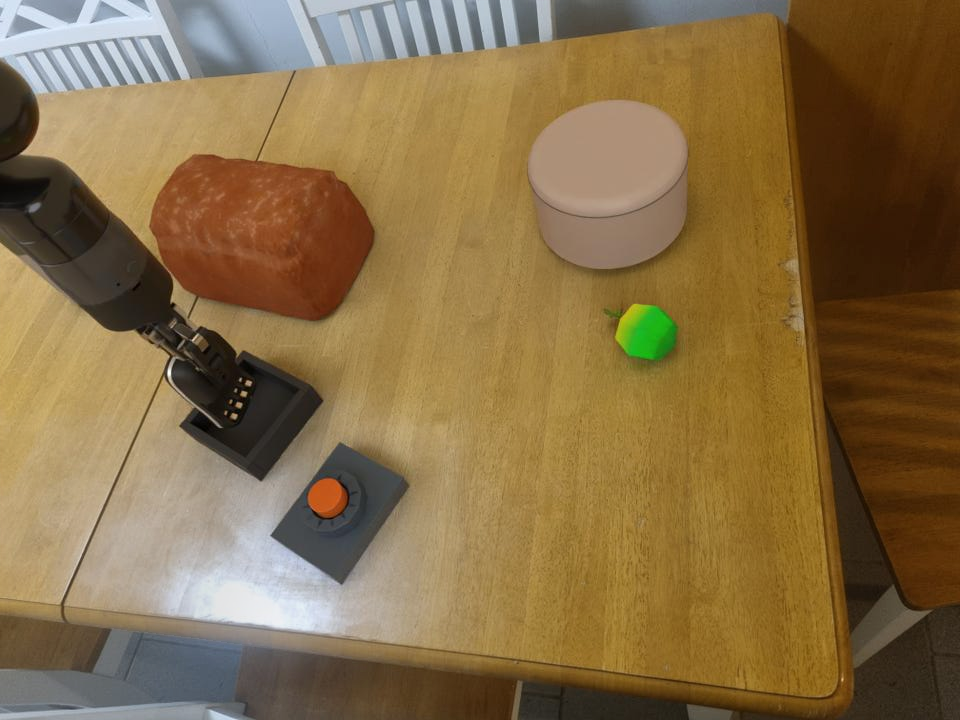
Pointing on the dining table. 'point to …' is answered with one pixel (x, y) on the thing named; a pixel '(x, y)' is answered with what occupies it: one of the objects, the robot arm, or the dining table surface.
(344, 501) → the power button
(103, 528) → the dining table surface
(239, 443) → the dock
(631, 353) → the apple
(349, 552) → the switch box
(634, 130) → the container
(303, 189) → the bread
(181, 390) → the battery charger
